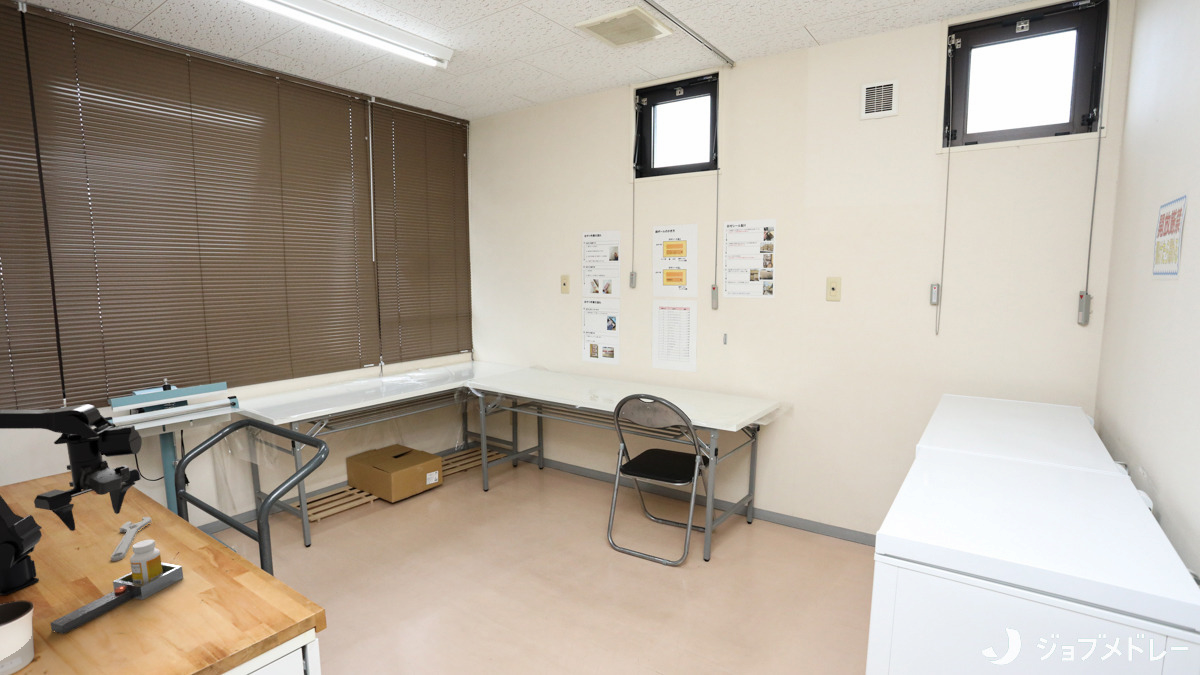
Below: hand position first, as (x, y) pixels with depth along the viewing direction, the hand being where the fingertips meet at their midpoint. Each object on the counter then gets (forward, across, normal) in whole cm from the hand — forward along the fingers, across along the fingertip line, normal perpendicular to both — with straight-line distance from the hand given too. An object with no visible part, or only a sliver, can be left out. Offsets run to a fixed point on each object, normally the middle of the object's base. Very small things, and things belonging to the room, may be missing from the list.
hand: (95, 521), depth 135 cm
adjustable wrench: (+14, +13, +13) cm, 23 cm away
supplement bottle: (+13, -1, -17) cm, 21 cm away
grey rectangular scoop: (+13, -7, -17) cm, 23 cm away
